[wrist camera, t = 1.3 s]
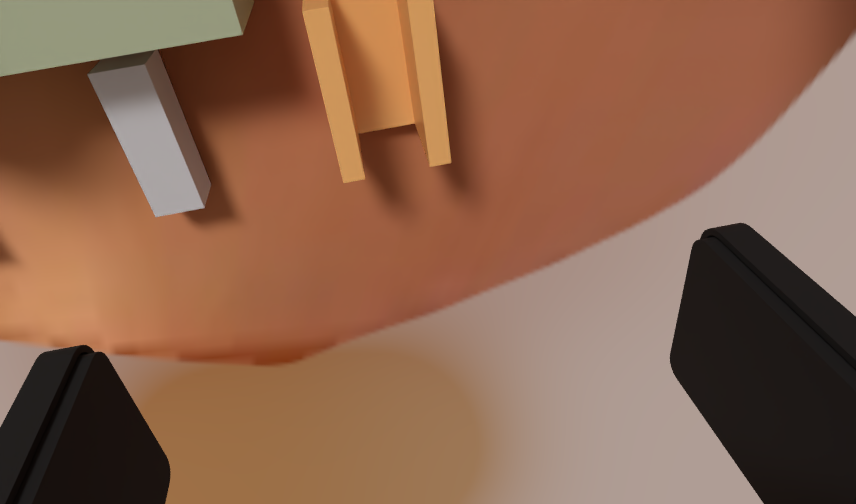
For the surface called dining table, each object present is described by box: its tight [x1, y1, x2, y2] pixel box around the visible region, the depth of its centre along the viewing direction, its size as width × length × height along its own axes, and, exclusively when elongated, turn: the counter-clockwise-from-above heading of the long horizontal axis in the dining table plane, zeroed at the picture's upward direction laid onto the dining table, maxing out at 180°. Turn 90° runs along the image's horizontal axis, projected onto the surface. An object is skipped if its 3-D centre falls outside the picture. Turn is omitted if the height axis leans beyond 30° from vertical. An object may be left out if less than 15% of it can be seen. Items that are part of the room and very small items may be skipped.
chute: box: [302, 0, 451, 183], centre depth 22 cm, size 4×6×5 cm, turn 7°
